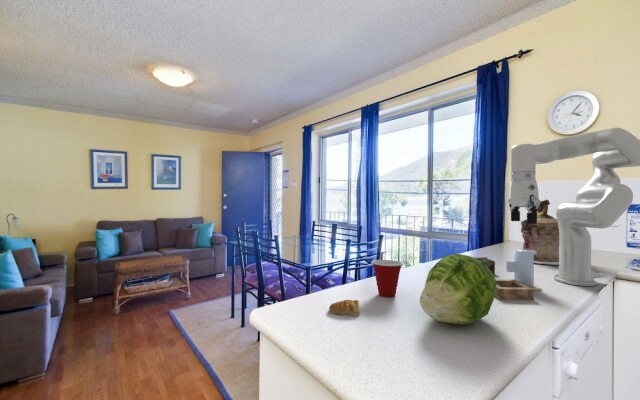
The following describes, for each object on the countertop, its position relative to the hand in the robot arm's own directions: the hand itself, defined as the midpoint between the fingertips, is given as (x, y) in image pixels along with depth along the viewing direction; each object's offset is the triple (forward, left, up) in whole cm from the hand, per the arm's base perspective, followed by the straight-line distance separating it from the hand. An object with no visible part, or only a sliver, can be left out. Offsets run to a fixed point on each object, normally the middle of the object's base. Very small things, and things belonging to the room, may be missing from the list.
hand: (523, 222), depth 108 cm
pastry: (+67, +28, -25) cm, 77 cm away
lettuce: (+37, +32, -25) cm, 54 cm away
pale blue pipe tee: (0, +1, -24) cm, 24 cm away
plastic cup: (+53, +12, -25) cm, 60 cm away
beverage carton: (+12, -19, -25) cm, 33 cm away
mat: (0, +1, -24) cm, 24 cm away
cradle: (+11, +9, -24) cm, 28 cm away
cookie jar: (-35, -44, -25) cm, 61 cm away
